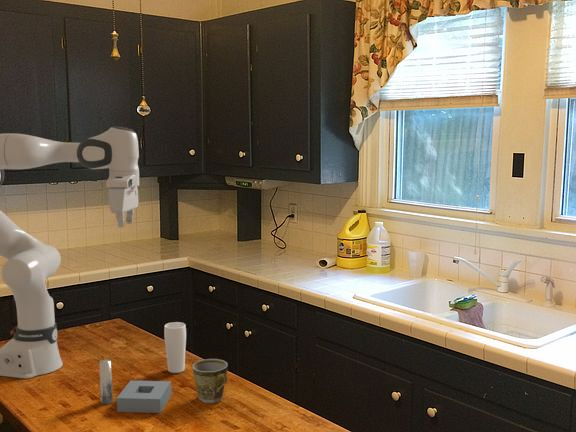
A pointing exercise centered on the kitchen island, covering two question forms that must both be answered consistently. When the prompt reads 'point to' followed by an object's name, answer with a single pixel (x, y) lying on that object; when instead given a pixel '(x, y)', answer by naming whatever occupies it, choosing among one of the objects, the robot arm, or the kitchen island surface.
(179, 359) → the white tapered cylinder
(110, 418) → the kitchen island surface
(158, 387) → the socket block
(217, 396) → the ceramic cup
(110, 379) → the steel pin
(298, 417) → the kitchen island surface
